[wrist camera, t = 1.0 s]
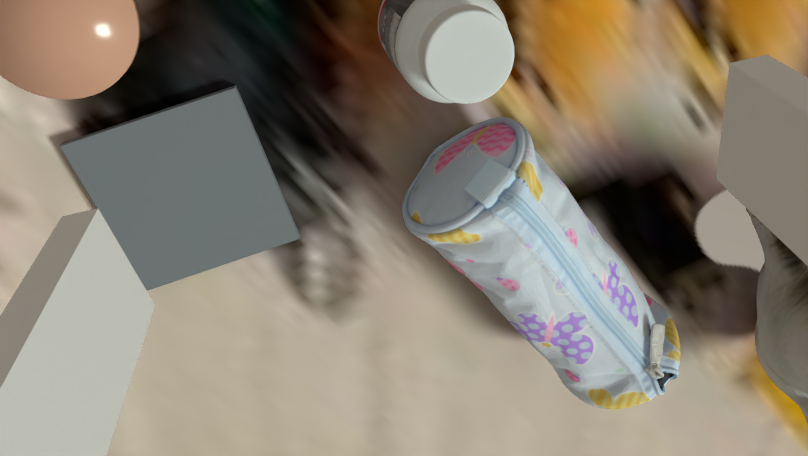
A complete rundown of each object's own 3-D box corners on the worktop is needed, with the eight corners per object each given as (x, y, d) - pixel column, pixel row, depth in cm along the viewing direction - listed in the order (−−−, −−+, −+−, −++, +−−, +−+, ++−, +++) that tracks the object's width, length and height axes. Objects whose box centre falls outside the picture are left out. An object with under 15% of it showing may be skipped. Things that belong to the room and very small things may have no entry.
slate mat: (299, 234, 39) (299, 238, 39) (148, 285, 39) (146, 290, 38) (235, 85, 34) (235, 87, 34) (63, 142, 34) (59, 146, 34)
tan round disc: (167, 67, 33) (165, 71, 33) (24, 115, 33) (19, 119, 32) (91, -94, 29) (86, -94, 29) (-72, -41, 29) (-80, -40, 28)
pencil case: (644, 289, 47) (723, 371, 38) (552, 358, 48) (609, 451, 40) (485, 85, 37) (545, 136, 29) (377, 179, 39) (404, 253, 30)
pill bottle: (466, -36, 34) (530, -18, 25) (472, 62, 36) (533, 110, 28) (368, -21, 33) (400, 2, 25) (382, 77, 36) (415, 131, 27)
